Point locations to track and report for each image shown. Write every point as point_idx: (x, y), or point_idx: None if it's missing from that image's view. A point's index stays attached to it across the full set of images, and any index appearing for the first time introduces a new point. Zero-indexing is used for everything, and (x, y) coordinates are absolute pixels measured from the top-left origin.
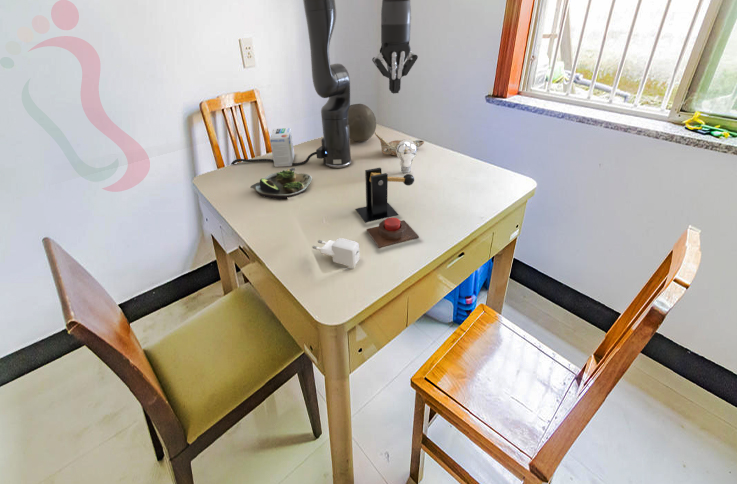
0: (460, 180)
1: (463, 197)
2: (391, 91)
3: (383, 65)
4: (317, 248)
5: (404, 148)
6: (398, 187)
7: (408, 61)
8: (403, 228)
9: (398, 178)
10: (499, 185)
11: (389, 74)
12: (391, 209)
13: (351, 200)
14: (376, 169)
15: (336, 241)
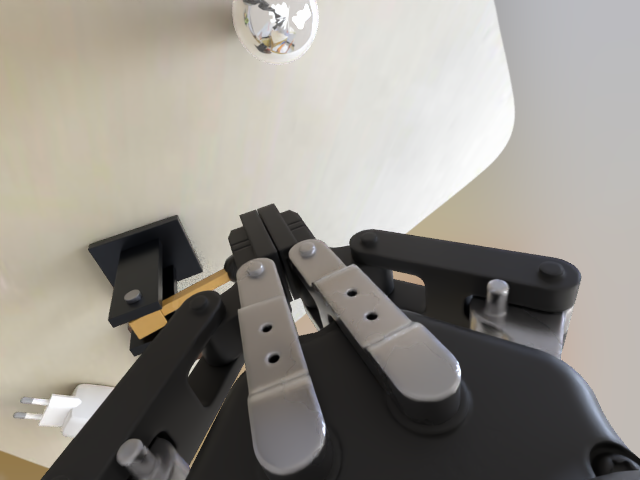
0: (391, 101)
1: (361, 189)
2: (242, 223)
3: (191, 457)
4: (27, 418)
5: (265, 55)
6: (218, 118)
7: (463, 308)
8: None
9: (211, 289)
10: (453, 142)
11: (242, 358)
12: (187, 253)
13: (65, 183)
14: (146, 314)
15: (69, 429)
